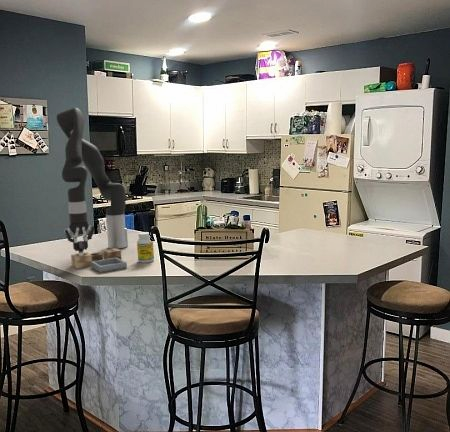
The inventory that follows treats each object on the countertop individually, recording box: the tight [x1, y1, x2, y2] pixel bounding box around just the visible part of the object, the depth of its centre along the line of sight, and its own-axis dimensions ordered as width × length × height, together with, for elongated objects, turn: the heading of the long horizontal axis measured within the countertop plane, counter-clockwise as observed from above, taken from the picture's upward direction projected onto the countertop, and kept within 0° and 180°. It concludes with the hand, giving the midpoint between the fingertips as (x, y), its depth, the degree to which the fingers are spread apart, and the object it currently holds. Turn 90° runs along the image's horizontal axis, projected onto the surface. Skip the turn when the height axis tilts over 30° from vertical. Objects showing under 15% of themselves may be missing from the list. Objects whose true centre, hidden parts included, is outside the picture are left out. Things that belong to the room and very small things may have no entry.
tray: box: [90, 258, 128, 274], centre depth 217 cm, size 12×12×3 cm
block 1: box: [70, 251, 92, 269], centre depth 223 cm, size 7×7×5 cm
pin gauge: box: [77, 240, 85, 256], centre depth 222 cm, size 3×3×11 cm
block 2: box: [103, 248, 122, 260], centre depth 229 cm, size 6×6×5 cm
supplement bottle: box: [136, 231, 155, 263], centre depth 227 cm, size 7×7×13 cm
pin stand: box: [90, 252, 104, 261], centre depth 231 cm, size 5×5×3 cm
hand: (80, 249), depth 222 cm, fingers open, 3 cm apart
